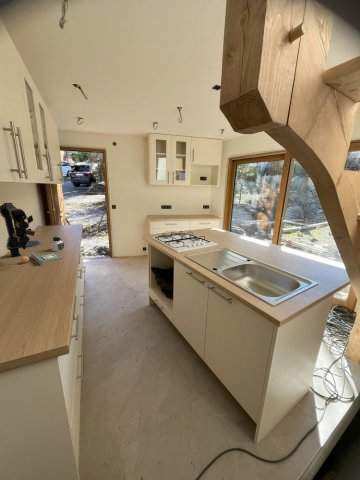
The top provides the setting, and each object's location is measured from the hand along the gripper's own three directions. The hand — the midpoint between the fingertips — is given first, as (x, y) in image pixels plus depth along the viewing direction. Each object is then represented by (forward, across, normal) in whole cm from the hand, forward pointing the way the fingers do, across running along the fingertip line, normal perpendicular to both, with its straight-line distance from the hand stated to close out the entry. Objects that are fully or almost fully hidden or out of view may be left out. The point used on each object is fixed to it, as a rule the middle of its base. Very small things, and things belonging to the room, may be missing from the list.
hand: (22, 247), depth 151 cm
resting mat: (+12, 0, -16) cm, 20 cm away
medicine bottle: (+12, +17, -28) cm, 35 cm away
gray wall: (+12, -1, -7) cm, 14 cm away
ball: (+9, 0, 0) cm, 9 cm away
